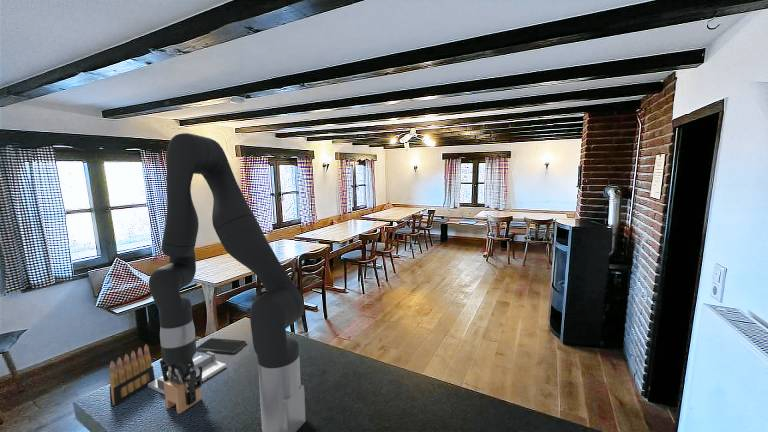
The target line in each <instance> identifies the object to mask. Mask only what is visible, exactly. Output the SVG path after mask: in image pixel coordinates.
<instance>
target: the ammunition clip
mask: <svg viewBox="0 0 768 432" xmlns="http://www.w3.org/2000/svg"><path fill="white" fill-rule="evenodd" d="M143 352H144V353H143ZM116 361H117V362H116V365H115V361H113V360H111V361H110V364H109V385H110V386H109V399H110V406H113V407H117V406H119V405H120V404H122V403H124V402H125V401H127V400H128V399H130V398H132V397H133V396H135V395H136V394H138V393H140V392H141V391H143V390H144V389H146V388H149V387H148V383H150V382H152V381H154V380H156V377H155V372H154V371H155V370H154V366H153V364H152V357H151V353H150V348H149V345H148V344H145V345H144V349H143V350H142V347H138V350H137V355H136V353H135V351H134V350H132V351H131V354H130V357H129V355H128V354H127V353H125V355H124V360H123V361H122V358H121V357H118V358H117V360H116ZM116 367H117V368H116Z"/></svg>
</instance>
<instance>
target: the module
mask: <svg viewBox="0 0 768 432" xmlns="http://www.w3.org/2000/svg"><path fill="white" fill-rule="evenodd" d="M187 378H189V376H187V377H186V378H184V380H185V379H187ZM196 384H197V383H196ZM188 386H190V381H189V382H188ZM201 387H202V386H201ZM201 387H200V388H198V389H197V390H196V401H195V402H194V403H192V404H191V405H187V404H186V395H185V388H184V384H183V385H181V384H180V381H179V378H178V377H174V378H173V379H171V380H170V379H169V380H167V381H166V382H164V392H165V394H164V399H165V408H166V409H171V408H172V407H174V406H176V407H175V408H176V414H179V415H180V414H181V413H183V412H184V411H186V410H187V409H189V408H190V407H192V406H194V405H195V404H197V403H198V402H200V401H201V400H202V388H201Z"/></svg>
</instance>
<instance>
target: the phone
mask: <svg viewBox="0 0 768 432" xmlns="http://www.w3.org/2000/svg"><path fill="white" fill-rule="evenodd" d="M246 345H247V341H246V340H238V339H237V340H236V339H225V338H218V337H217V338H214V337H212V338H211V337H210V338H208V339H206V340H205V341H204V342H203V343H201V344H200V345H198V346H196V352H200V353H203V352H204V353H206V352H208V351H209V352H212V353H215V354H222V355H230V356H231V355H235V354H237V353H238V352H239V351H240V350H241V349H243V348H244V347H245V346H246Z"/></svg>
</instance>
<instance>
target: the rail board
mask: <svg viewBox="0 0 768 432" xmlns="http://www.w3.org/2000/svg"><path fill="white" fill-rule="evenodd" d="M192 359H193V358H192ZM193 362H194V366H195V367H196V368H198V367H200V366H201V367H202V381H203V382H205V381H206V380H207V378H208V379H209V378H210V377H212V376H215V374H217V373H219V372H220V371H222V370H223V369H225V368H227V364H226V363H224V362H220V361H218V360H216V353H212V352H209V351H208V352H205V354H204V355H199V356H197V357H195V358H194V359H193ZM167 376H168V372H167ZM164 382H165V381H164V379H163V375H161V376H159V377H158V378H155V380H154V381H152V382H150V383H148V387H147V388H149V389H151V390H154V391H155V392H158V393H160V394H163V395H165V392H164Z"/></svg>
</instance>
